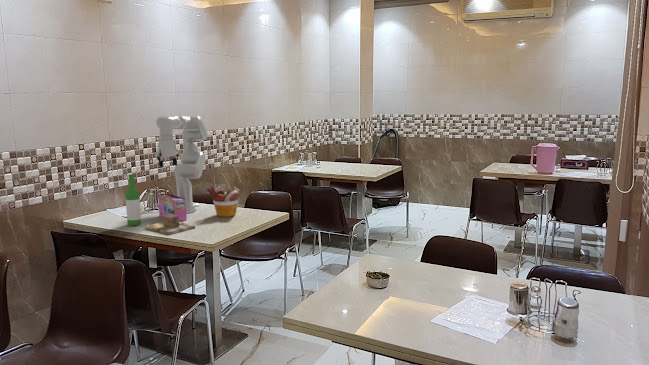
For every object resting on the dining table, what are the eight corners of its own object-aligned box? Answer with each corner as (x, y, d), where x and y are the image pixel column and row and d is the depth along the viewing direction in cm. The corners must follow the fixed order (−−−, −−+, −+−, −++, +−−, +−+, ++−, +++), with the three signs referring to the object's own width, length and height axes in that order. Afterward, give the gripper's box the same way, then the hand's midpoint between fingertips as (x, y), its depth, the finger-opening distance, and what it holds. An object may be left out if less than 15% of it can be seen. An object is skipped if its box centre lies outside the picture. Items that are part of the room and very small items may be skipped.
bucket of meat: (233, 210, 334) (232, 181, 330) (245, 215, 321) (244, 184, 317) (205, 215, 322) (204, 184, 319) (216, 220, 309) (215, 188, 306)
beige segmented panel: (171, 222, 303) (171, 219, 303) (184, 225, 296) (184, 222, 296) (145, 228, 289) (145, 225, 289) (157, 231, 282) (157, 229, 282)
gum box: (157, 215, 321) (156, 194, 319) (169, 213, 327) (168, 193, 324) (175, 222, 304) (174, 200, 302) (187, 220, 309) (186, 198, 307)
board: (185, 225, 296) (185, 223, 295) (195, 228, 290) (195, 225, 290) (159, 232, 281) (158, 229, 281) (168, 234, 276) (168, 232, 276)
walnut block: (170, 224, 293) (170, 214, 292) (179, 226, 288) (178, 216, 287) (163, 225, 289) (162, 215, 288) (172, 228, 284) (171, 217, 283)
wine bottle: (125, 224, 300) (122, 174, 295) (139, 222, 304) (136, 173, 299) (129, 226, 294) (125, 176, 289) (143, 224, 298) (139, 174, 293)
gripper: (174, 136, 311) (176, 164, 313) (150, 138, 297) (151, 167, 300) (182, 137, 306) (183, 165, 309) (157, 139, 293) (159, 168, 295)
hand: (168, 166), depth 304 cm, fingers open, 9 cm apart
